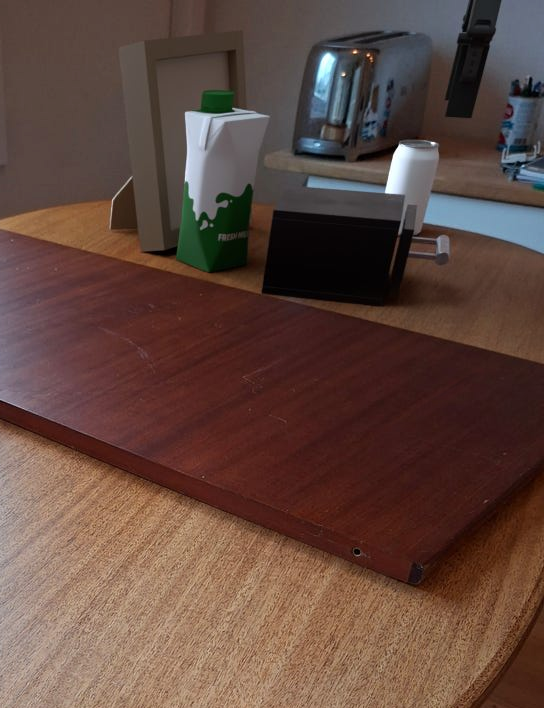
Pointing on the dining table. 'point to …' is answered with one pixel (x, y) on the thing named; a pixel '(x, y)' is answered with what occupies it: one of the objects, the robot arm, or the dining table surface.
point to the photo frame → (168, 124)
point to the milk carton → (219, 182)
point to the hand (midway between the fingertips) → (457, 108)
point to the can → (413, 176)
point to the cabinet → (332, 244)
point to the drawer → (403, 252)
